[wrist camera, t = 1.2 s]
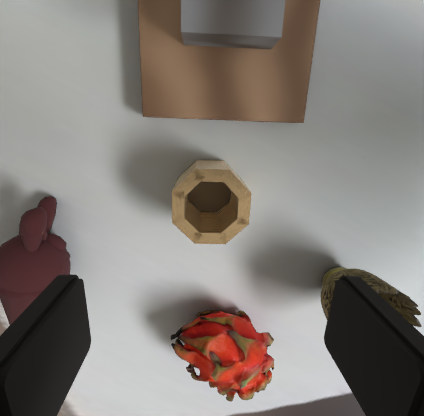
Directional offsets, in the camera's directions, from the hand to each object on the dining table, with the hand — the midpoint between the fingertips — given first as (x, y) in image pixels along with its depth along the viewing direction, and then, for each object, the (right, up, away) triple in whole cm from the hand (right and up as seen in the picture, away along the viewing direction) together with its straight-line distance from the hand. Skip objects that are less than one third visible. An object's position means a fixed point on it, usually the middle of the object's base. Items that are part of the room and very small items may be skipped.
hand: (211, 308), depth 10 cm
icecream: (-18, -2, +19) cm, 26 cm away
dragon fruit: (+1, -11, +22) cm, 25 cm away
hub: (0, +5, +17) cm, 18 cm away
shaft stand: (+1, +21, +12) cm, 24 cm away
